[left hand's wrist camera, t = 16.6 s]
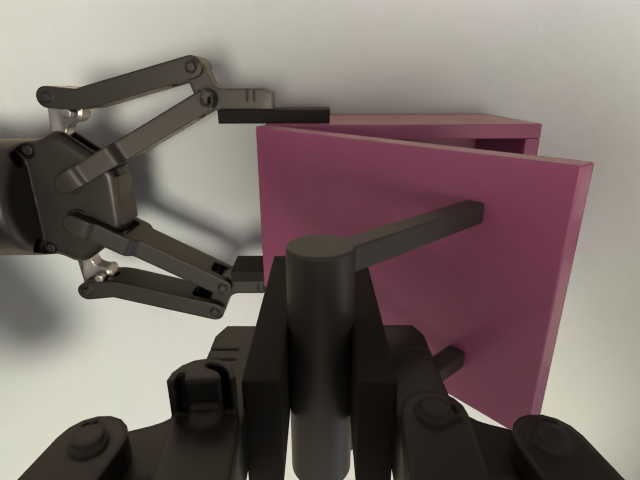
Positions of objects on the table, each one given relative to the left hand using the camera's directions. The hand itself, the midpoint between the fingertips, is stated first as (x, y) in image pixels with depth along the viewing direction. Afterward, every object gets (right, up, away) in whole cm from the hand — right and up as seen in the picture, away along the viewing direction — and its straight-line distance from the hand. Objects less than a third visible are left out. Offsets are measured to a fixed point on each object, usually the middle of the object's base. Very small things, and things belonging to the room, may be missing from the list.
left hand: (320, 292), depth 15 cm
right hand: (+1, +5, +13) cm, 14 cm away
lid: (+3, +2, +5) cm, 6 cm away
